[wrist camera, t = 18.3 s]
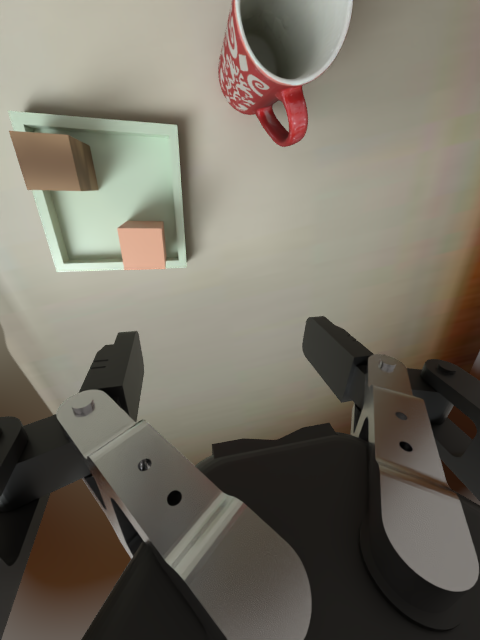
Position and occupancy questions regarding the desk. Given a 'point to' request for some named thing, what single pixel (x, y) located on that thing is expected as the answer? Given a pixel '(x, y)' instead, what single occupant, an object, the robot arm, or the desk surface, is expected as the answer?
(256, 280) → the desk surface
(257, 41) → the mug
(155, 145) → the tray
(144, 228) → the terracotta block
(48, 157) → the walnut block
